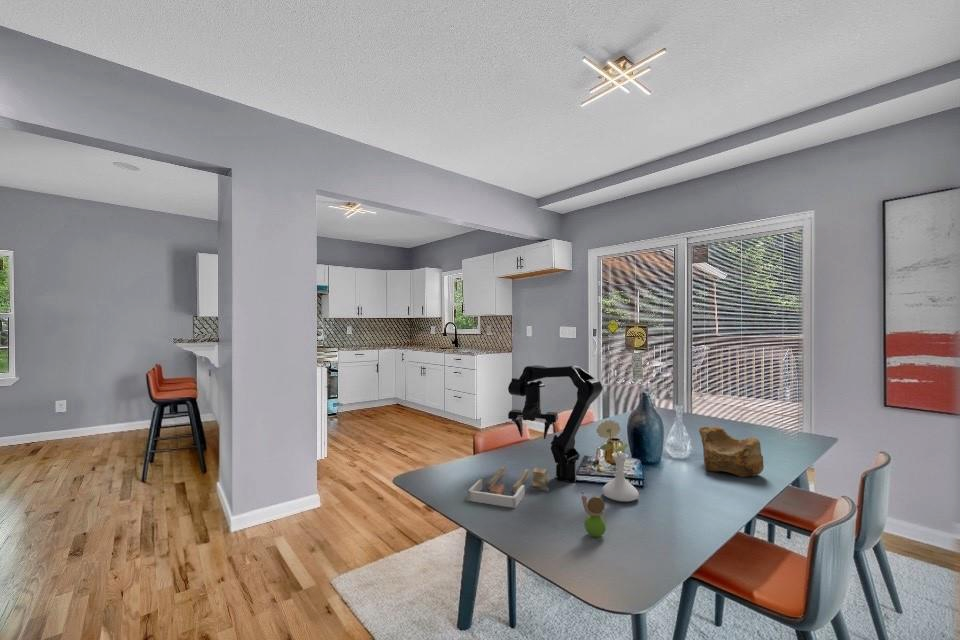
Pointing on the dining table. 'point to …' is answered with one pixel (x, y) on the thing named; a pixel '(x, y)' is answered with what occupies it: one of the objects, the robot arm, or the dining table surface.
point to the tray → (494, 496)
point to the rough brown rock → (730, 453)
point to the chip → (496, 491)
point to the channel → (501, 473)
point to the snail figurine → (594, 516)
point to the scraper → (539, 480)
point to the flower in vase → (619, 485)
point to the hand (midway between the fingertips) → (533, 437)
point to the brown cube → (500, 487)
